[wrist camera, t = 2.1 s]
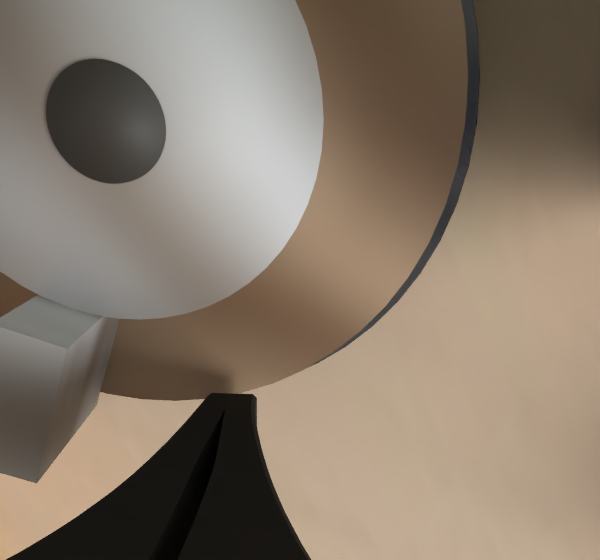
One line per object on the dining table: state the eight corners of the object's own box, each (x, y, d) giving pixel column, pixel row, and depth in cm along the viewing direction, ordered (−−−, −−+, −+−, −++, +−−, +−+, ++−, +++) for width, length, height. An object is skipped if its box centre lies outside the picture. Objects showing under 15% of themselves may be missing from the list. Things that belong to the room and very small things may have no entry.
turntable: (155, -525, 7) (-42, -1404, 3) (551, 175, 12) (694, 199, 7) (-263, 74, 11) (-625, 36, 7) (158, 448, 15) (101, 570, 11)
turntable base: (177, -539, 8) (161, -627, 7) (571, 177, 13) (592, 180, 12) (-255, 74, 12) (-302, 69, 11) (169, 452, 17) (161, 470, 16)
